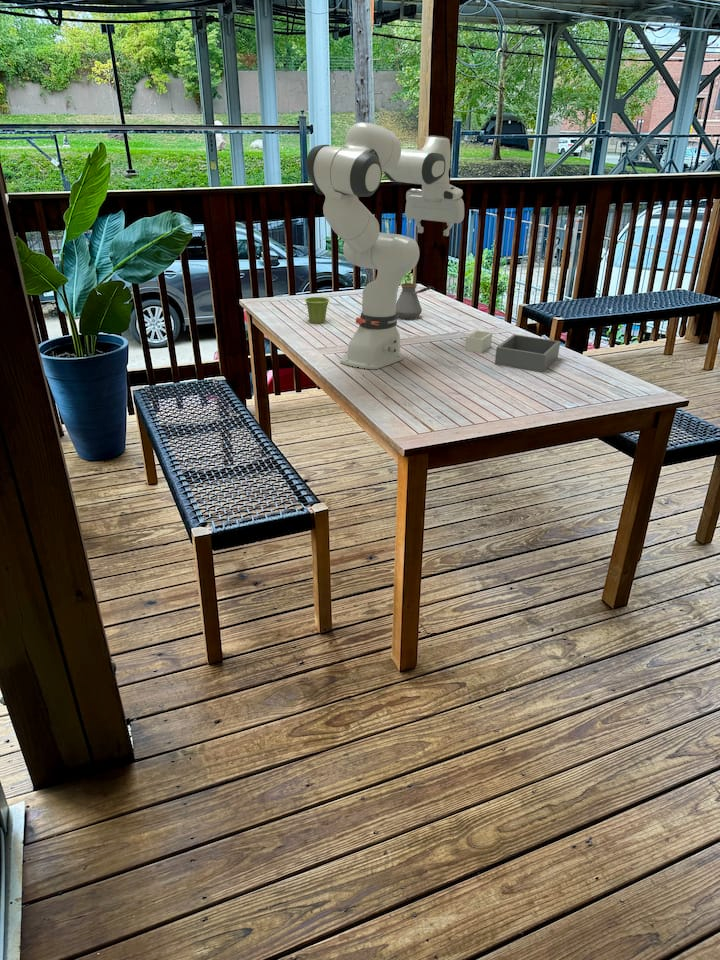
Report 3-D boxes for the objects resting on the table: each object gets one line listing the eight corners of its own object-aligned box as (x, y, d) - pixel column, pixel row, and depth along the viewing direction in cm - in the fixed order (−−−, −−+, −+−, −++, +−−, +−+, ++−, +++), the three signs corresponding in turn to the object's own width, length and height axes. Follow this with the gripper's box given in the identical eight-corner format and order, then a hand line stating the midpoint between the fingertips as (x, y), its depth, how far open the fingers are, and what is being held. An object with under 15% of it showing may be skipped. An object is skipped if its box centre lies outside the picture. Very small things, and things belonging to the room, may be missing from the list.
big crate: (542, 373, 206) (545, 355, 204) (494, 365, 213) (496, 347, 210) (557, 358, 220) (560, 341, 217) (511, 351, 227) (513, 334, 224)
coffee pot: (388, 315, 268) (389, 278, 261) (411, 312, 273) (412, 275, 266) (418, 327, 252) (420, 288, 245) (441, 323, 257) (444, 285, 250)
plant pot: (333, 322, 256) (333, 300, 252) (313, 326, 252) (312, 303, 247) (321, 317, 263) (321, 295, 259) (301, 320, 258) (300, 298, 254)
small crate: (481, 353, 224) (482, 339, 221) (464, 351, 226) (465, 336, 224) (490, 346, 231) (492, 332, 229) (474, 344, 234) (476, 330, 231)
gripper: (402, 189, 215) (401, 233, 223) (460, 194, 207) (457, 239, 215) (410, 186, 220) (409, 228, 228) (467, 191, 212) (464, 235, 220)
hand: (433, 234), depth 221 cm, fingers open, 8 cm apart
